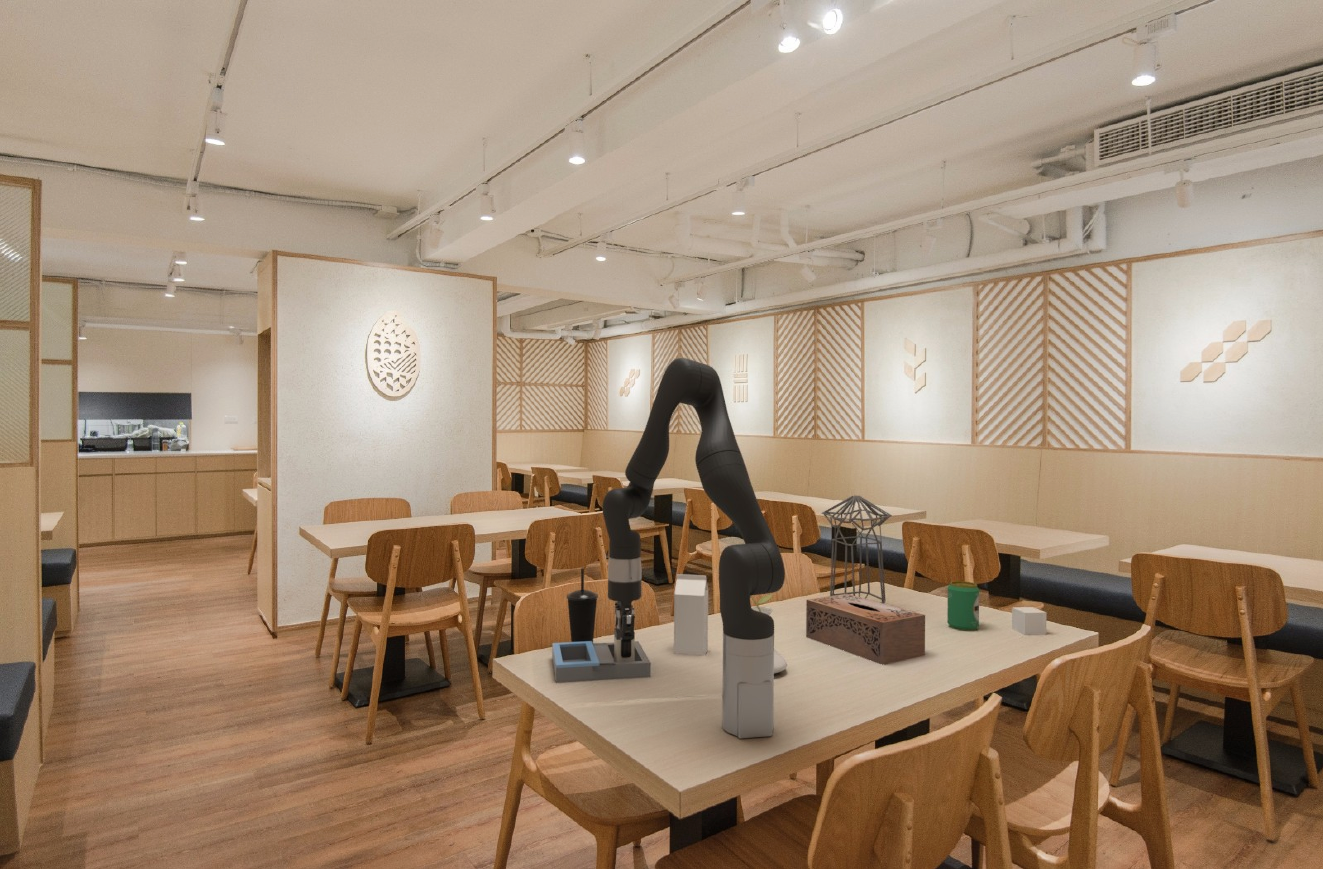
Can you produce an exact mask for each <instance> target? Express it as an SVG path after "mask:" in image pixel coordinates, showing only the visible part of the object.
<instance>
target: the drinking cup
mask: <svg viewBox="0 0 1323 869" xmlns="http://www.w3.org/2000/svg"><path fill="white" fill-rule="evenodd" d="M598 598H599V594H598V593H596V592H594V591H592V590H589V589H585V568H581V569H580V589H576V590H573V591H571V592H570V593H567V594H566V599H567V606H568V618H569V630H570V642H583V641H592V644H594V636H595V635H594V634H595V624H596V615H597V614H596V613H597V612H596V611H597V603H598Z"/></svg>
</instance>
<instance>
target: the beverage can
mask: <svg viewBox="0 0 1323 869" xmlns="http://www.w3.org/2000/svg"><path fill="white" fill-rule="evenodd" d="M946 618H947V619H946V621H947V622H946V623H947V624H948V627H949V628H951V629H953V630H957V631H963V632H973V631H977V630H978V628H979V626H980V588H979V587H978V584H977V583H975V582H970V581H966V580H965V581H963V580H962V581H961V580H955V581H950V583H949V584H948V586H947V617H946Z"/></svg>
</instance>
